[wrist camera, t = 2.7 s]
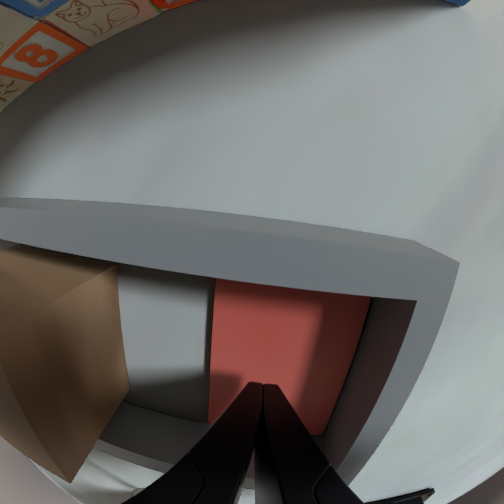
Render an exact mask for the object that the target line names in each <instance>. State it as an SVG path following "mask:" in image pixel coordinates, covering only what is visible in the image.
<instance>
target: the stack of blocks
mask: <svg viewBox="0 0 504 504" xmlns="http://www.w3.org/2000/svg"><path fill="white" fill-rule="evenodd" d="M194 1H197V0H0V112H1V111H2V110H3V109H4V108H5V107H6V106H8V105H9V104H10V103H11V102H12V101H13V100H14V99H15V98H17V97H18V96H19V95H20V94H21V93H23V92H24V91H25V90H26V89H28V88H29V87H30V86H31V85H33V84H34V83H35V82H38V81H40V80H41V79H42V78H44V77H45V76H46V75H48V74H49V73H51V72H52V71H54V70H55V69H56V68H58V67H59V66H61V65H62V64H64V63H65V62H67V61H68V60H70V59H72V58H73V57H75V56H77V55H78V54H80V53H82V52H83V51H85V50H86V49H88V48H89V47H91V46H94V45H96V44H97V43H99V42H101V41H103V40H105V39H107V38H109V37H111V36H113V35H115V34H117V33H119V32H121V31H124V30H126V29H128V28H130V27H133V26H135V25H137V24H139V23H142V22H144V21H146V20H149V19H152V18H154V17H156V16H158V15H160V14H161V13H162V12H163V11H166V10H169V9H173V8H177V7H179V6H182V5H184V4H187V3H191V2H194ZM444 1H447V2H450V3H453V4H456V5H460V6H464V5H465V4H466V3H468V2H469V1H470V0H444Z"/></svg>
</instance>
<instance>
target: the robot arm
mask: <svg viewBox="0 0 504 504" xmlns="http://www.w3.org/2000/svg"><path fill="white" fill-rule="evenodd" d="M253 450H254V473H255V504H364V503H363V502H362V501H361V500H360V499H359V498H358V496H357V495H356V494H355V493H354V492H353V491H352V490H351V489H350V488H349V487H348V485H347V484H346V483H345V482H344V480H343V479H342V478H341V477H340V475H339V474H338V473H337V471H336V470H335V468H334V467H333V466H332V465H331V463H330V462H329V460H328V459H327V457H326V456H325V454H324V453H323V452H322V450H321V449H320V447H319V446H318V444H317V443H316V442H315V440H314V439H313V437H312V436H311V434H310V433H309V431H308V430H307V428H306V427H305V425H304V424H303V422H302V421H301V419H300V418H299V416H298V415H297V413H296V412H295V410H294V409H293V407H292V406H291V404H290V403H289V401H288V400H287V398H286V396H285V395H284V393H283V392H282V390H281V389H280V387H279V386H278V385H277V384H269V383H265V384H264V385H263V384H262V383H260V382H252V381H250V382H248V383H247V384H246V386H245V387H244V388H243V389H242V390H241V392H240V393H239V394H238V395H237V396H236V398H235V399H234V400H233V401H232V402H231V404H230V405H229V406H228V407H227V408H226V410H225V411H224V412H223V413H222V414H221V415H220V417H219V418H218V419H217V420H216V421H215V422H214V423H213V425H212V426H211V427H210V428H209V429H208V430H207V431H206V432H205V433H204V435H203V436H202V437H201V438H200V439H199V440H198V441H197V442H196V443H195V444H194V445H193V447H192V448H191V449H190V450H189V451H188V452H189V453H188V452H187V453H186V454H185V455H184V456H183V457H182V458H181V459H180V460H179V461H178V462H177V463H176V464H175V465H174V466H173V467H172V468H171V469H170V470H168V471H167V472H166V473H165V474H164V475H163V476H161V477H160V478H159V479H157V480H156V481H155V482H153V483H152V484H151V485H149V486H148V487H146V488H145V489H143V490H142V491H140V492H139V493H137V494H136V495H134V496H133V497H131V498H130V499H128V500H127V501H125V502H123V503H122V504H238V501H239V498H240V495H241V492H242V488H243V485H244V482H245V479H246V475H247V472H248V468H249V465H250V461H251V458H252V454H253ZM330 465H331V466H330ZM434 493H435V491H434V488H431V489H428V490H425V491H422V492H418V493H415V494H411V495H407V496H403V497H399V498H395V499H391V500H386V501H381V502H376V503H370V504H424V501H426V500H427V499H428V498H429V497H430V496H431V495H433V494H434Z"/></svg>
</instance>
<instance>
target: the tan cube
mask: <svg viewBox="0 0 504 504" xmlns="http://www.w3.org/2000/svg"><path fill="white" fill-rule="evenodd" d="M129 390H130V385H129V379H128V373H127V367H126V361H125V354H124V347H123V339H122V330H121V321H120V310H119V296H118V279H117V264H115V263H109V262H104V261H98V260H93V259H88V258H82V257H77V256H72V255H67V254H62V253H57V252H52V251H47V250H42V249H38V248H33V247H28V246H24V245H17V246H14V247H11V248H8V249H5V250H3V251H0V435H1V436H2V437H3V438H4V439H5V440H7V441H8V442H9V443H10V444H12V445H13V446H14V447H15V448H17V449H18V450H19V451H21V452H22V453H23V454H25V455H26V456H27V457H29V458H30V459H32V460H33V461H35V462H36V463H38V464H39V465H41V466H42V467H44V468H45V469H47V470H48V471H50V472H51V473H53V474H55V475H56V476H58V477H60V478H61V479H63V480H65V481H67V482H68V483H70V484H71V482H72V481H73V479H74V477H75V476H76V474H77V472H78V471H79V469H80V467H81V466H82V464H83V463H84V461H85V459H86V458H87V456H88V454H89V453H90V451H91V450H92V448H93V446H94V445H95V443H96V442H97V440H98V438H99V437H100V435H101V434H102V432H103V430H104V429H105V427H106V426H107V424H108V423H109V421H110V419H111V418H112V416H113V415H114V413H115V412H116V410H117V409H118V407H119V405H120V404H121V402H122V401H123V399H124V398H125V396H126V395H127V393H128V392H129Z"/></svg>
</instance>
